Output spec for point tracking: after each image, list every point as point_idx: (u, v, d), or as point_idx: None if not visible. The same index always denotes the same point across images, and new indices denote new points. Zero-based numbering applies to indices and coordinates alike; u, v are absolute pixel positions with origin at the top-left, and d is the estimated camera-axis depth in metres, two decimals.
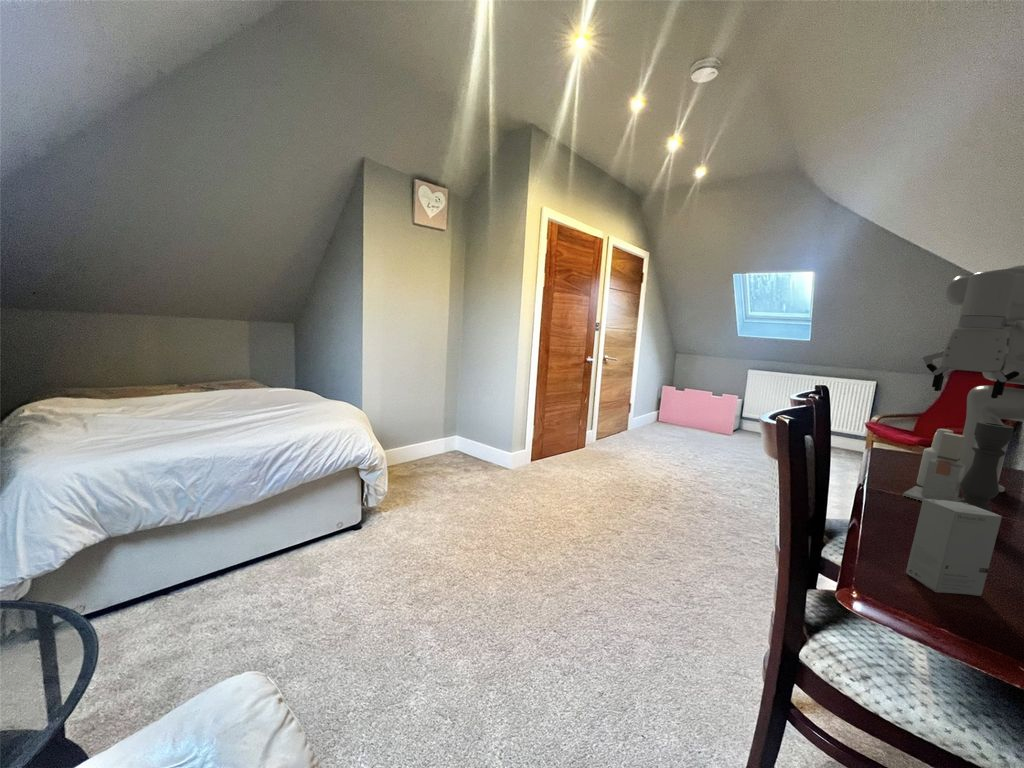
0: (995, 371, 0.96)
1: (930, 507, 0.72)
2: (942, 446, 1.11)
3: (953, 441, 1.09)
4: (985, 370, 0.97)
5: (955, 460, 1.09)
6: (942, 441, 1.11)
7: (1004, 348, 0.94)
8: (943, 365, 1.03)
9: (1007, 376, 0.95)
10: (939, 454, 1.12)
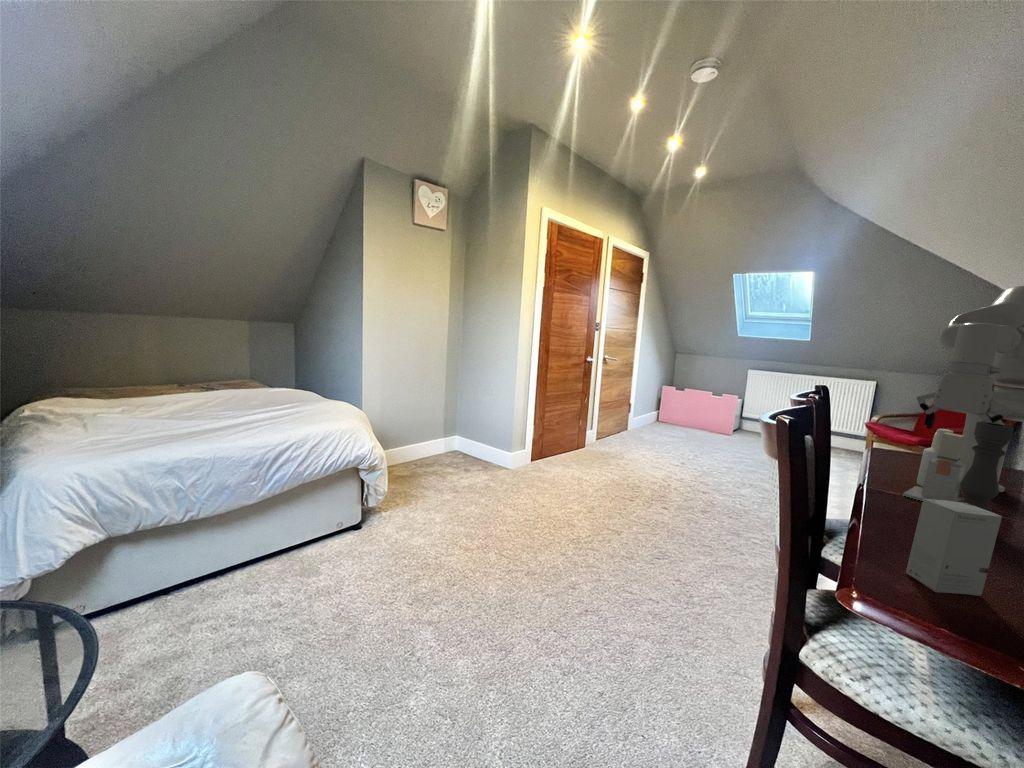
0: (981, 414, 1.05)
1: (930, 507, 0.72)
2: (942, 446, 1.11)
3: (953, 441, 1.09)
4: (973, 412, 1.06)
5: (955, 460, 1.09)
6: (942, 441, 1.11)
7: (989, 393, 1.04)
8: (935, 405, 1.12)
9: (992, 419, 1.04)
10: (939, 454, 1.12)
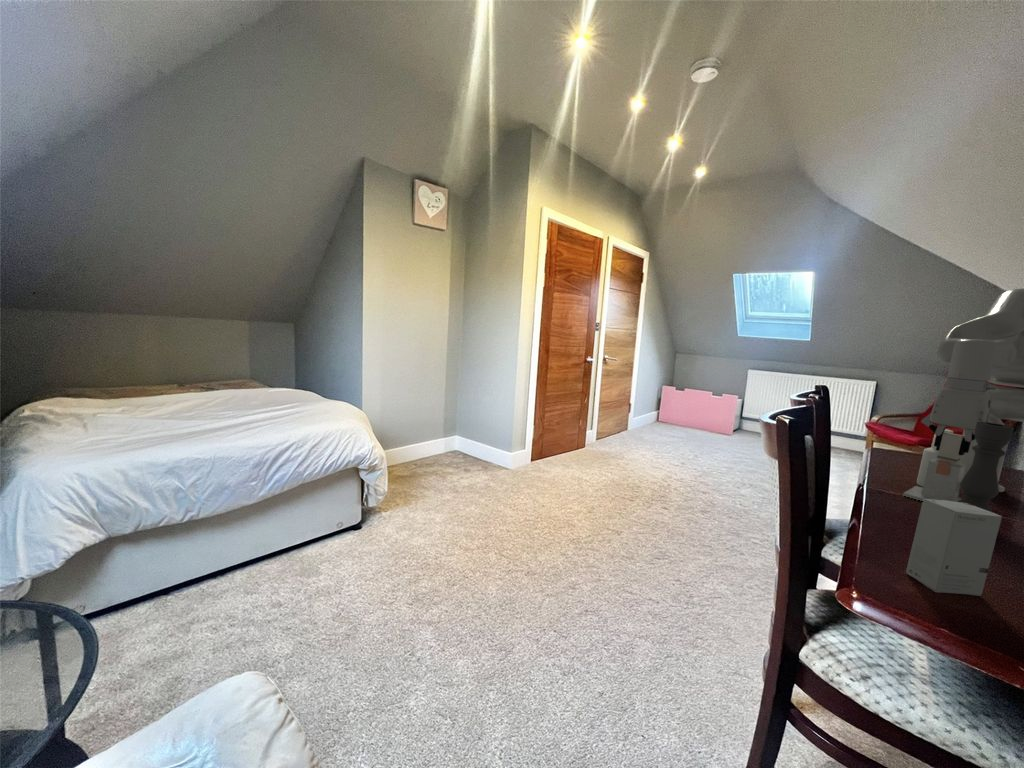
0: None
1: (930, 507, 0.72)
2: (942, 446, 1.11)
3: (953, 441, 1.09)
4: (969, 428, 1.07)
5: (955, 460, 1.09)
6: (942, 441, 1.11)
7: (986, 409, 1.05)
8: (931, 420, 1.13)
9: (973, 438, 1.07)
10: (939, 454, 1.12)
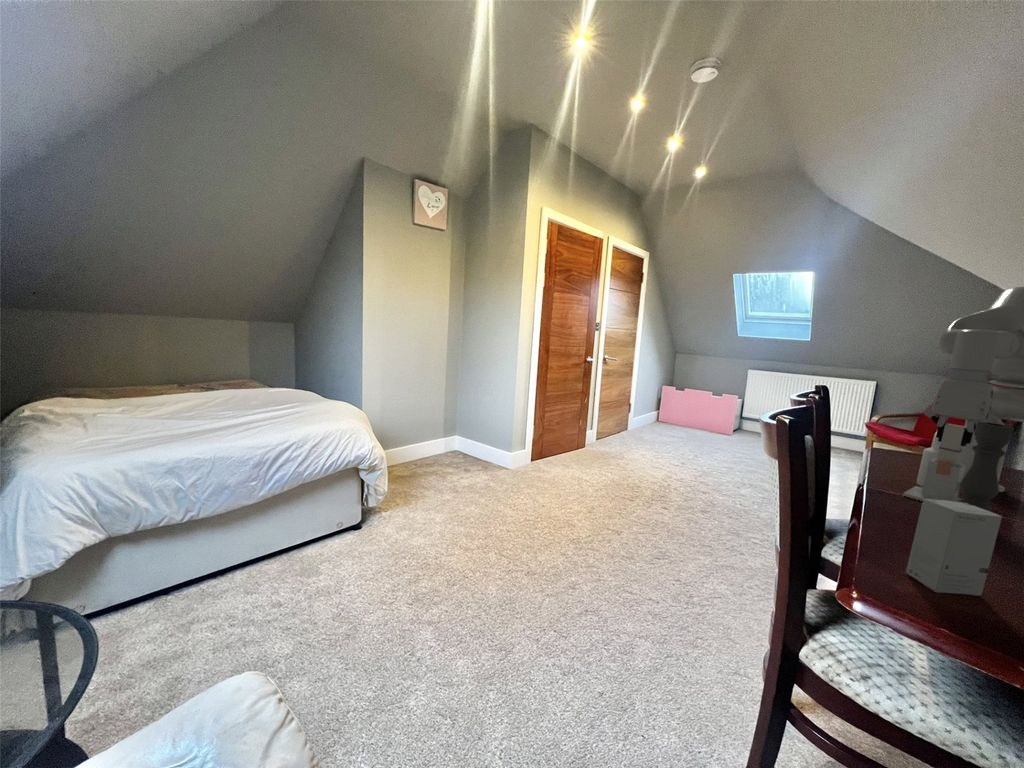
0: (980, 420, 1.05)
1: (930, 507, 0.72)
2: (944, 437, 1.11)
3: (956, 432, 1.09)
4: (971, 418, 1.06)
5: (957, 451, 1.09)
6: (944, 432, 1.11)
7: (988, 400, 1.04)
8: (933, 412, 1.12)
9: None
10: (941, 445, 1.11)
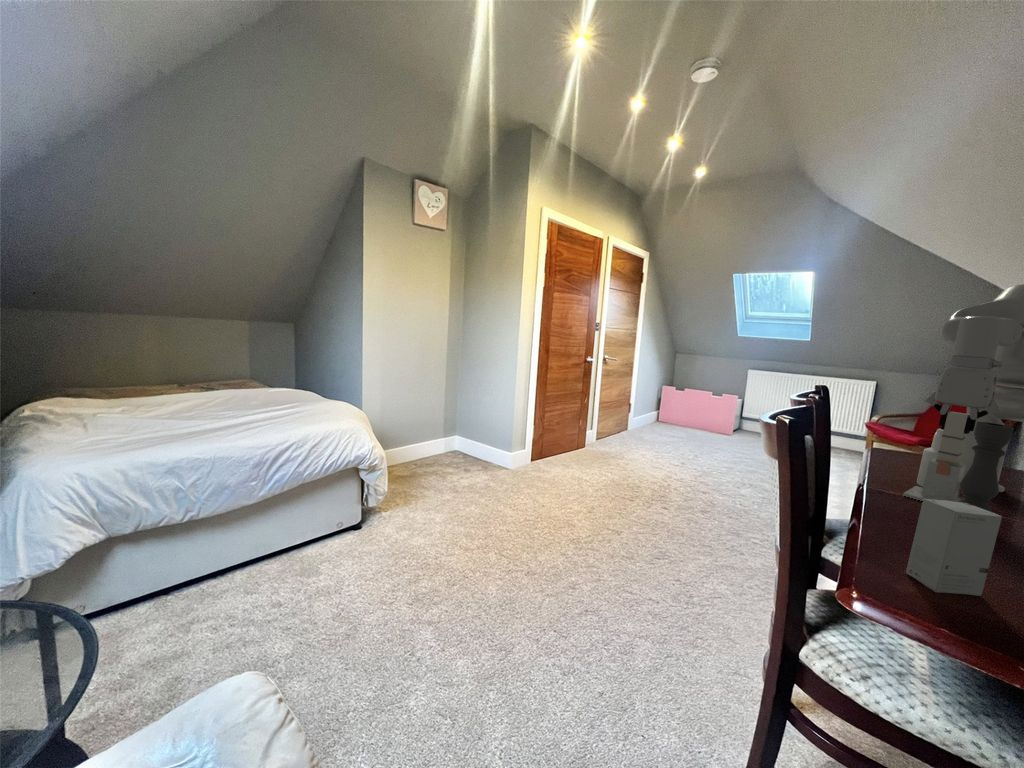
0: (983, 407, 1.05)
1: (930, 507, 0.72)
2: (947, 425, 1.10)
3: (959, 420, 1.09)
4: (975, 406, 1.06)
5: (960, 439, 1.08)
6: (947, 420, 1.10)
7: (991, 387, 1.04)
8: (936, 399, 1.12)
9: (979, 416, 1.06)
10: (944, 433, 1.11)
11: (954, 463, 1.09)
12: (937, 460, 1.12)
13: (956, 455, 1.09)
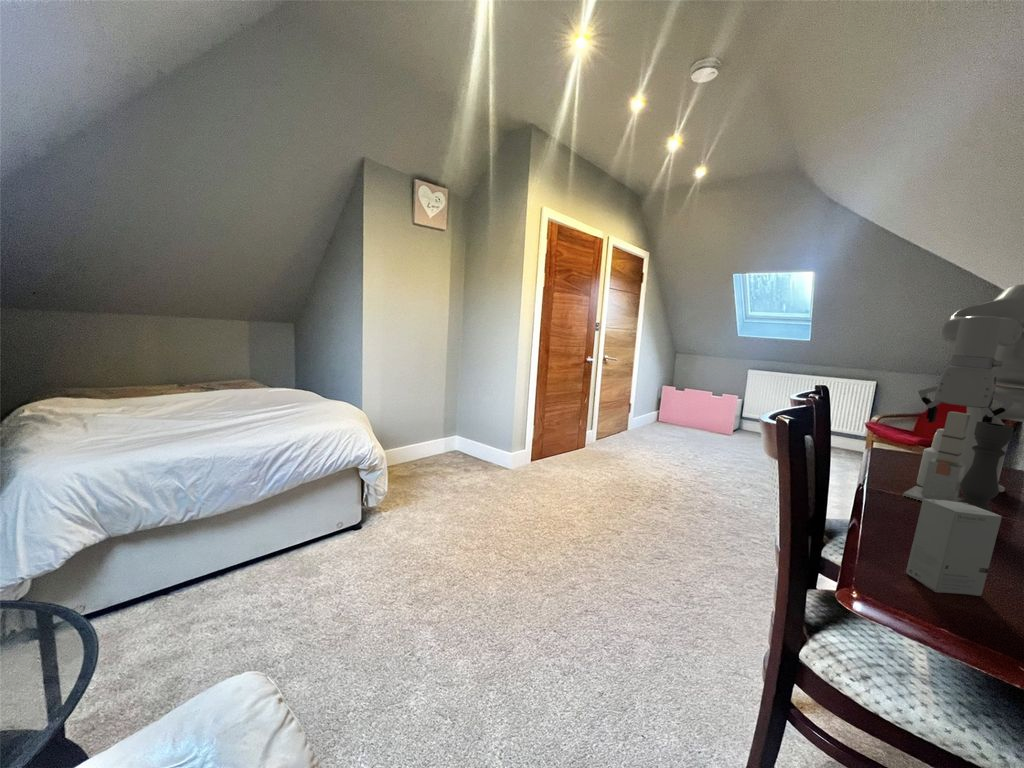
0: (983, 407, 1.05)
1: (930, 507, 0.72)
2: (947, 425, 1.10)
3: (959, 419, 1.09)
4: (975, 405, 1.06)
5: (960, 438, 1.08)
6: (947, 420, 1.10)
7: (991, 386, 1.04)
8: (936, 399, 1.12)
9: (994, 412, 1.04)
10: (944, 433, 1.11)
11: (954, 463, 1.09)
12: (937, 460, 1.12)
13: (956, 455, 1.09)
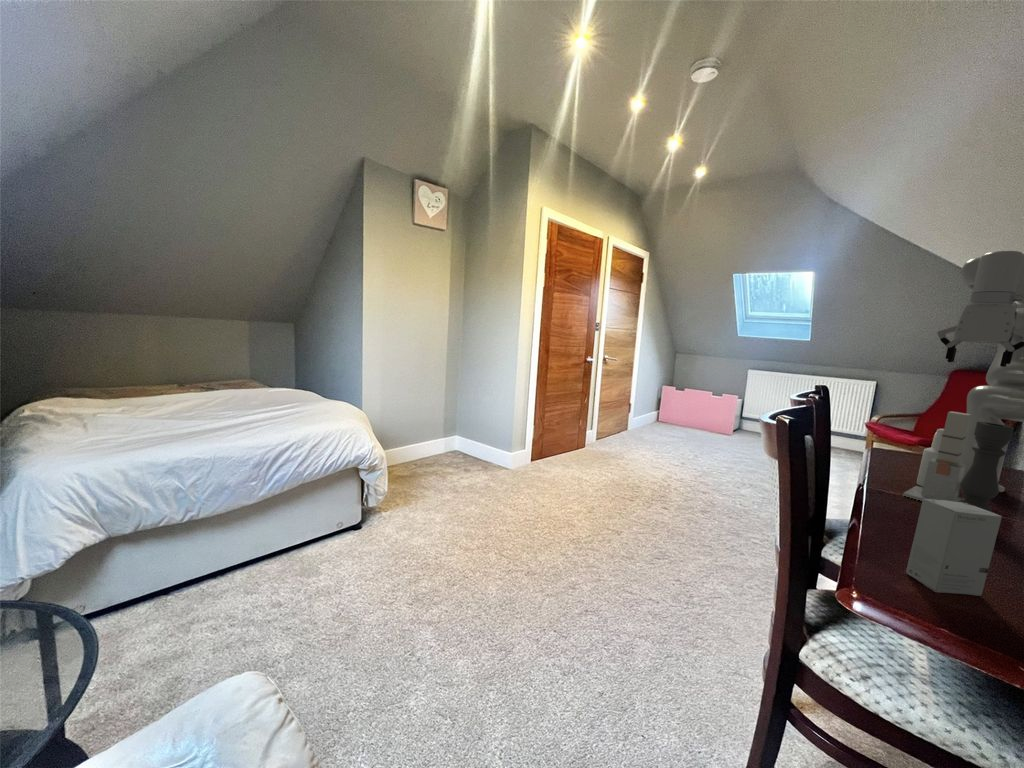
0: (1004, 342, 1.06)
1: (930, 507, 0.72)
2: (947, 425, 1.10)
3: (959, 419, 1.09)
4: (995, 341, 1.07)
5: (960, 438, 1.08)
6: (947, 420, 1.10)
7: (1012, 320, 1.04)
8: (956, 338, 1.13)
9: (1015, 346, 1.05)
10: (944, 433, 1.11)
11: (954, 463, 1.09)
12: (937, 460, 1.12)
13: (956, 455, 1.09)
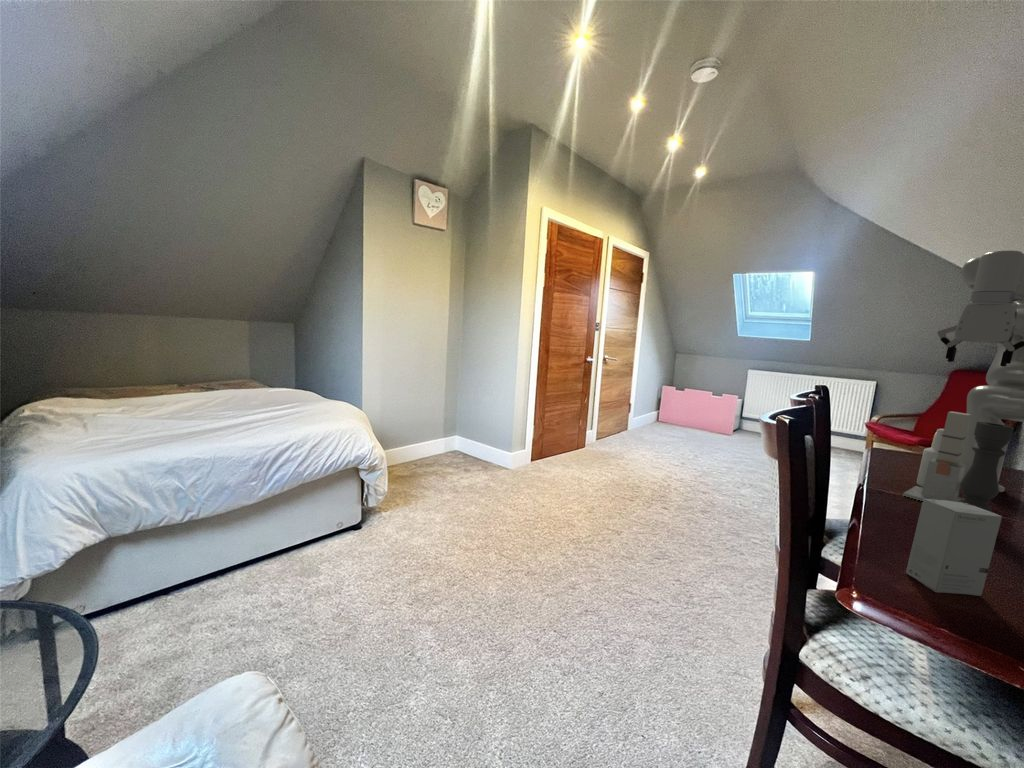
0: (1004, 341, 1.06)
1: (930, 507, 0.72)
2: (947, 425, 1.10)
3: (959, 419, 1.09)
4: (995, 340, 1.07)
5: (960, 438, 1.08)
6: (947, 420, 1.10)
7: (1012, 320, 1.04)
8: (956, 338, 1.13)
9: (1015, 346, 1.05)
10: (944, 433, 1.11)
11: (954, 463, 1.09)
12: (937, 460, 1.12)
13: (956, 455, 1.09)
